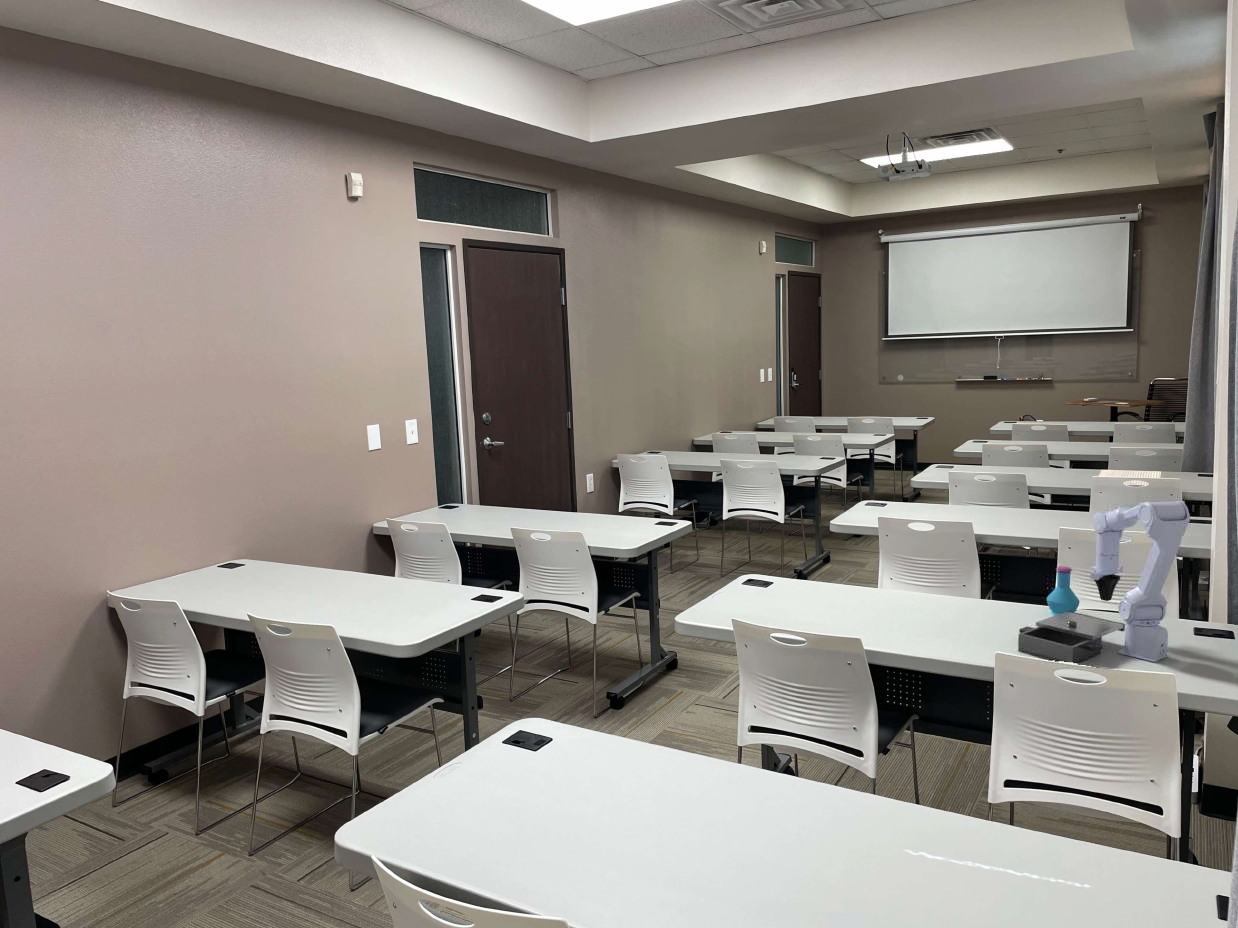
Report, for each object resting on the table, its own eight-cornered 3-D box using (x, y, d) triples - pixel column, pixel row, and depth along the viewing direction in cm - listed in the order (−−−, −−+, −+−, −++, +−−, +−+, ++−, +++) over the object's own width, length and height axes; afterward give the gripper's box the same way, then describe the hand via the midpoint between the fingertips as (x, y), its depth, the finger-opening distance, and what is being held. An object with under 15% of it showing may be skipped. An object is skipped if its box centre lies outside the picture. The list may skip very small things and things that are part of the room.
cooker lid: (1124, 630, 240) (1125, 619, 239) (1093, 643, 230) (1093, 631, 230) (1067, 617, 253) (1067, 607, 252) (1035, 629, 243) (1036, 618, 243)
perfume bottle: (1071, 609, 275) (1073, 564, 273) (1084, 618, 265) (1085, 571, 264) (1041, 609, 275) (1042, 564, 274) (1053, 618, 266) (1054, 571, 265)
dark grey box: (1112, 656, 232) (1113, 638, 231) (1083, 669, 223) (1084, 650, 223) (1037, 637, 249) (1037, 620, 248) (1008, 648, 240) (1008, 631, 240)
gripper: (1105, 548, 254) (1104, 592, 256) (1080, 555, 246) (1078, 601, 248) (1131, 551, 249) (1129, 597, 250) (1105, 559, 240) (1103, 606, 242)
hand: (1105, 599), depth 249 cm, fingers closed
